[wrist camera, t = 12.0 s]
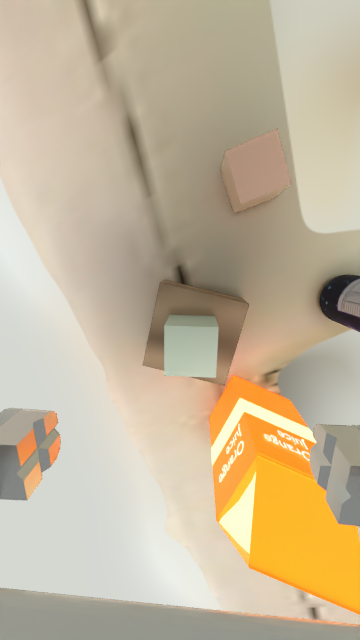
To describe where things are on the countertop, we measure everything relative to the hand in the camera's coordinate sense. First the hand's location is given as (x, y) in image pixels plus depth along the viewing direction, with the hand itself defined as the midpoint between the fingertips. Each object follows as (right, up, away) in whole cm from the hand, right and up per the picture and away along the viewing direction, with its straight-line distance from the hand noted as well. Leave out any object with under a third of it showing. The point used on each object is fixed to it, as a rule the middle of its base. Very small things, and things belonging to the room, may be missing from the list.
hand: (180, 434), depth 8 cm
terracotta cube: (+8, +19, +21) cm, 29 cm away
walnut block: (+2, +3, +25) cm, 25 cm away
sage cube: (+1, +2, +20) cm, 20 cm away
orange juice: (+10, -9, +27) cm, 30 cm away
